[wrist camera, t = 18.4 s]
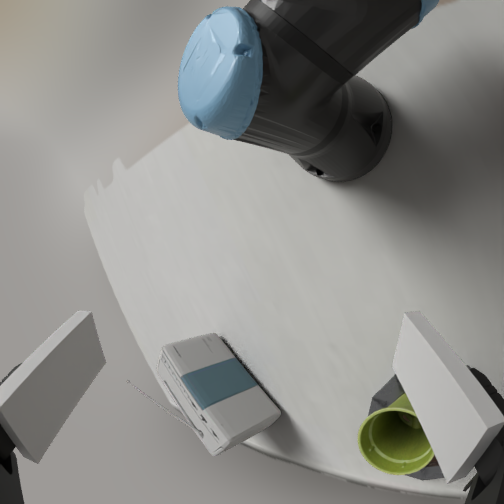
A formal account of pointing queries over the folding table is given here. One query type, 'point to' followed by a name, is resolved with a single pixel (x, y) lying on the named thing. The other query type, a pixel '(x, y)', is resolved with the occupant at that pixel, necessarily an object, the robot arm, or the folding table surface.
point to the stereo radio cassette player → (213, 392)
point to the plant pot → (395, 439)
